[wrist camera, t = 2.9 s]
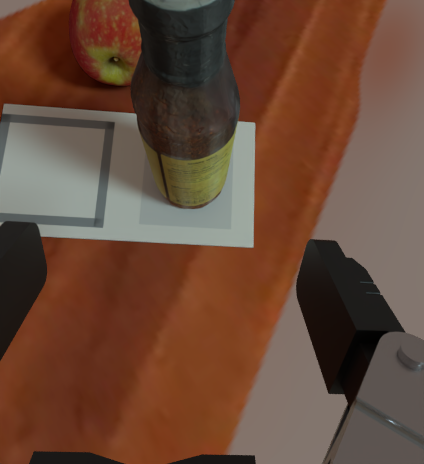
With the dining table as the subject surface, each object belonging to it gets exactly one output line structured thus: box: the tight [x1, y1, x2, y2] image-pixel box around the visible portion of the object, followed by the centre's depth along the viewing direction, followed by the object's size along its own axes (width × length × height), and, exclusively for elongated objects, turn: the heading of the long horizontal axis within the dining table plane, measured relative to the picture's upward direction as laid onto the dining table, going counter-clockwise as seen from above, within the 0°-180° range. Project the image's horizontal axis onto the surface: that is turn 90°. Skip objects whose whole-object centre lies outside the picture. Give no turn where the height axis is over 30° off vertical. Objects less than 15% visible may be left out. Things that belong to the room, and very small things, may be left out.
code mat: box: [0, 104, 255, 248], centre depth 31 cm, size 23×12×1 cm, turn 88°
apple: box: [69, 0, 142, 86], centre depth 30 cm, size 8×8×8 cm
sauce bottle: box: [128, 0, 240, 209], centre depth 22 cm, size 6×6×20 cm
